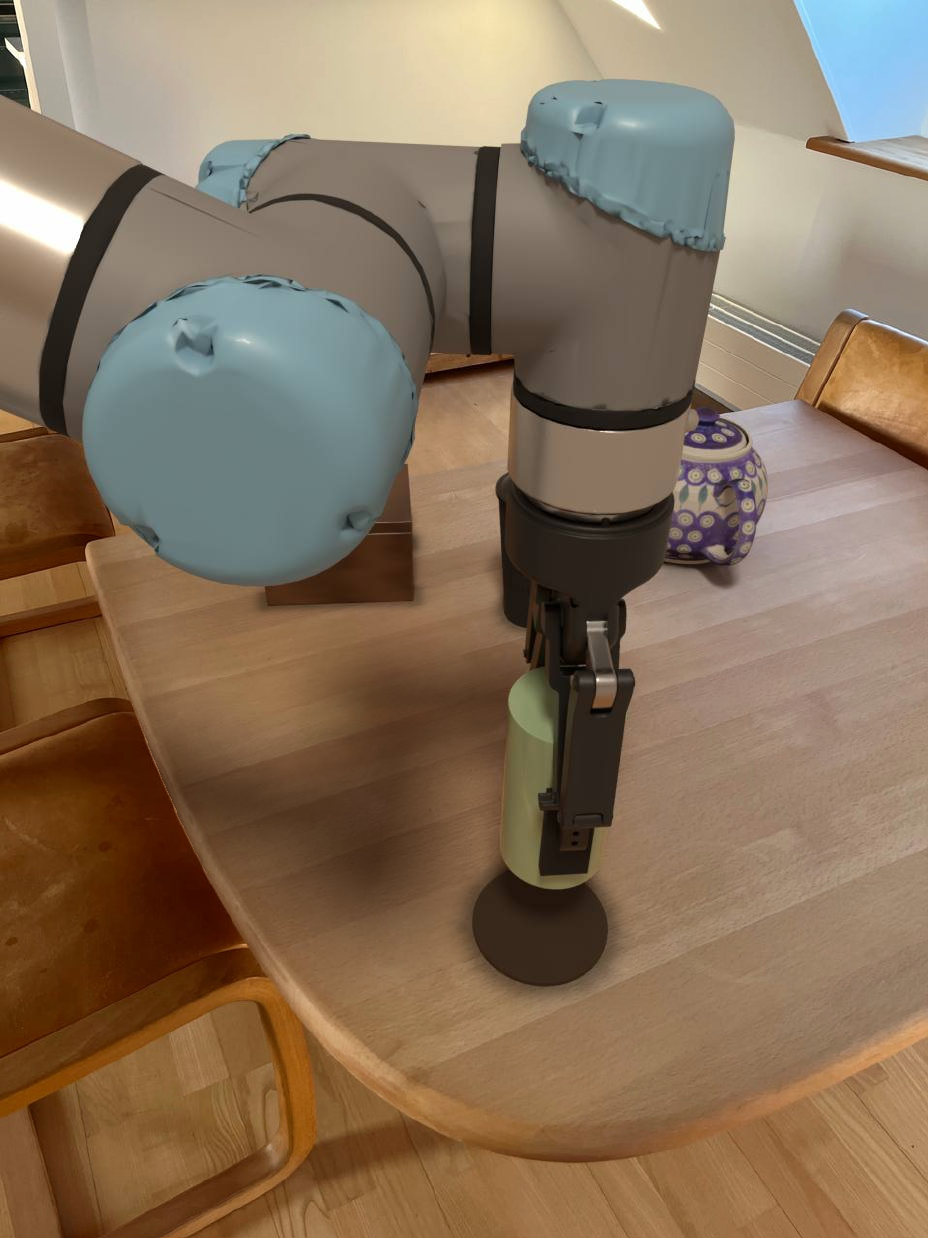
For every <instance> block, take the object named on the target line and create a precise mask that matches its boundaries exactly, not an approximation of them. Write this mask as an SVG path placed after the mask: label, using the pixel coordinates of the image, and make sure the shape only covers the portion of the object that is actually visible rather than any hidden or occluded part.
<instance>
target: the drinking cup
mask: <svg viewBox="0 0 928 1238" xmlns="http://www.w3.org/2000/svg"><path fill="white" fill-rule="evenodd" d="M510 479H511V478H510V475H509V473H508V471H507V472H506V473H503V474H502V475H501V476H500V477H499V478H498V479H497V481H496V482H495V486H494V487H495V489H494V493H495V496H496V498H497V500H498V514H499V516H498V517H499V533H500V534H499V536H500V551H501V552H500V554H501V555H500V556H501V573H502V575H501V576H502V591H503V611H504V615H505V617H506V618H507V620H508V621H509V622H511V623H512V624H514V625H516V626H519V627H522V628H527V621H528V610H529V600H530V589H531V579H529V578H527V577H526V576H525V575H523V574H522V573H521V572H520V571H519V570H518V569H517V568H516V567H515V566H514V565H513V563H512V562H511V560H510V559H509V557H508V554H507V552H506V548H505V524H506V505H507V488H508V483H509V481H510Z"/></svg>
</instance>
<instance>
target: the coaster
mask: <svg viewBox="0 0 928 1238" xmlns="http://www.w3.org/2000/svg"><path fill="white" fill-rule="evenodd" d="M471 921H472V933H473V937H474V941H475V943H476V945H477V947H478V949H479V951H480V953H481V954H482V956H483V957H484V958H485V959H486V961H487V962H488V963H489V965H491V966H492V967H493V968H494V969H496V970H497V971H498V972H499V973H500V974H502V975H504V976H506V977H507V978H509V979H512V980H514V981H516V982H519V983H521V984H526V985H529V986H535V987H536V986H537V987H553V986H560V985H565V984H568V983H571V982H573V981H575V980H578V979H579V978H581V977H583V976H584V975H586V974H587V973H588V972H589V971H591V970H592V969H593V968H594V967H595V966H596V965H597V963H598V962H599V961H600V959H601V957H602V955H603V953H604V951H605V948H606V945H607V941H608V935H609V923H608V917H607V913H606V911H605V908H604V905H603V904H602V902H601V900H600V898H599V897H598V895H597V894H596V893H595V892H594V890H593V889H592V888H590V886H589V885H588V884H586V882H584V883H582V884H580V885H577V886H575V887H571V888H567V889H545V888H541V887H537V886H534V885H531V884H529V883H527V882H525V881H523V880H522V879H520V878H519V877H517V876H516V875H515V874H514V873H513V872H512V871H511V870H510V869H507V870H506V871H504V872H502V873H500V874H499V875H497V876H495V877H494V878H492V879H491V881H489V882H488V883H487V884H486V885H485V886H484V887H483V888H482V890H481V892H480V893H479V895H478V897H477V898H476V901H475V903H474V906H473V911H472V919H471Z"/></svg>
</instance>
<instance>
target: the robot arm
mask: <svg viewBox="0 0 928 1238" xmlns="http://www.w3.org/2000/svg"><path fill="white" fill-rule="evenodd" d="M735 136H736V130H735V121H734V119H733V117H732V116H731V115H730V113H729V111H728V109H727V108H726V106H724V104H723V102H721V101H720V100H719V98H718V97H716V96H715V95H713V94H711V93H710V92H707V91H705V90H702V89H699V88H697V87H692V86H688V85H682V84H677V83H673V82H672V83H671V82H663V81H657V80H656V81H655V80H646V79H645V80H644V79H628V78H626V79H625V78H604V79H599V80H583V79H580V80H579V79H574V80H566V81H559V82H554V83H552V84H548V85H546V86H545V87H542V88H541V89H539V90H538V91H537V92H536V93H534V95H532V97H531V99H530V101H529V103H528V105H527V113H526V119H525V126H524V128H523V129H522V130H521V132H520V142H515V143H514V142H513V143H512V142H511V143H507V142H506V143H501V144H500V146H493V145H492V146H491V145H490V146H489V145H482V146H470V145H448V144H428V143H425V144H424V143H405V142H401V143H400V142H385V141H359V140H339V139H319V138H315V137H313V138H312V137H311V135H310V134H306V133H302V134H301V133H299V134H295V133H289V134H288V135H287V134H286V135H284V136H283V138H272V139H271V138H269V139H268V138H267V139H264V138H263V139H232V140H227V141H223V142H221V143H219V144H217V145H216V146H214V147H213V148H212V149H211V150H210V151H209V152H208V153H207V154H206V155H205V157H204V158H203V160H202V161H201V163H200V165H199V170H198V174H197V175H198V176H197V177H198V183H197V184H196V185H195V186H194V187H193V186H191V185H189V184H186V183H184V182H182V181H180V180H178V179H175V178H174V177H171V176H169V175H167V174H165V173H163V172H160V171H159V170H156V169H154V168H153V167H150V166H147V165H145V164H144V163H143V162H142V161H140V160H139V159H136V158H134V157H132V156H130V155H129V154H126V153H124V152H122V151H120V150H118V149H115V148H113V147H111V146H109V145H107V144H105V143H103V142H101V141H99V140H96V139H94V138H92V137H91V136H88V135H86V134H84V133H82V132H79V131H78V130H75V129H74V128H71V127H70V126H68V125H66V124H64V123H61V122H59V121H57V120H55V119H53V118H51V117H48V116H46V115H44V114H42V113H40V112H38V111H36V110H34V109H31V108H29V107H27V106H25V105H23V104H22V103H18V102H17V101H15V100H12V99H10V98H8V97H6V96H5V95H2V94H0V411H3V412H6V413H8V414H11V415H13V416H16V417H17V418H20V419H23V420H25V421H28V422H30V423H32V424H35V425H37V426H40V427H43V428H45V429H46V430H47V429H48V430H50V431H52V432H55V433H57V434H59V435H62V436H65V437H67V438H69V439H71V440H73V441H76V442H78V443H80V444H82V445H83V452H84V457H85V461H86V464H87V465H86V466H87V468H88V472H89V474H90V477H91V478H92V480H93V482H94V484H95V487H96V489H97V490H98V492H99V494H100V496H101V499H102V501H103V504H104V505H105V506H106V508H107V509H108V510H109V512H110V513H111V514H112V515H113V516H114V517H115V518H116V519H117V522H118V523H119V524H120V525H121V526H125V527H129V528H130V529H131V530H132V531H133V533H135V534H136V535H137V536H138V537H139V538H140V539H142V540H143V541H144V542H145V543H146V544H148V546H150V547H151V548H153V551H154V553H155V556H156V557H157V558H159V559H161V560H162V561H164V562H165V563H167V564H169V565H170V566H172V567H174V568H176V569H179V570H180V571H183V572H185V573H187V574H189V575H192V576H195V577H198V578H201V579H203V580H206V581H210V582H215V583H219V584H223V585H230V586H239V587H265V586H274V585H281V584H286V583H291V582H296V581H300V580H303V579H305V578H308V577H311V576H314V575H316V574H318V573H320V572H322V571H324V570H326V569H328V568H330V567H331V566H333V565H334V564H336V563H337V562H339V561H340V560H342V559H343V558H344V557H346V556H347V555H348V554H349V553H350V552H351V551H352V550H354V549H355V548H356V547H357V546H358V545H359V544H360V543H361V541H362V540H363V539H364V538H365V536H366V535H367V534H368V533H369V531H370V530H371V528H372V527H373V525H374V524H375V522H376V521H377V520H378V519H379V517H380V516H381V514H382V512H383V509H384V507H385V504H386V501H387V499H388V496H389V493H390V490H391V488H392V485H393V482H394V480H395V477H396V475H397V474H398V473H399V472H400V471H401V469H402V467H403V465H404V464H406V462H407V460H408V458H409V455H410V453H411V450H412V449H413V446H414V442H415V440H416V422H417V416H418V412H419V407H420V397H421V394H422V393H421V392H422V389H423V385H424V384H423V383H424V380H425V375H426V370H427V366H428V362H429V361H430V358H431V354H441V355H442V354H446V355H447V354H448V355H469V356H470V355H473V356H492V355H510V356H513V359H514V369H513V374H512V375H513V377H512V383H511V386H510V398H509V399H510V400H509V423H508V424H509V425H508V442H507V443H508V444H507V463H506V464H507V467H506V471H507V472H508V473H509V475H510V478H511V479H510V481H509V483H508V488H507V505H506V524H505V548H506V552H507V554H508V557H509V559H510V560H511V562H512V563H513V565H514V566H515V567H516V568H517V569H518V570H519V571H520V572H521V573H522V574H523V575H525V576H526V577H527V578H529V579H531V589H530V600H529V610H528V621H527V627H526V633H525V641H524V642H525V643H524V649H523V650H522V656H523V659H524V660H525V663H526V664H527V665H528V664H529V665H530V666H529V670H528V672H529V671H531V670H534V669H536V668H539V667H543V666H545V675H546V678H547V680H548V683H549V685H550V687H551V688H552V689H553V690H555V693H554V737H553V781H552V788H546V793H538V803H539V809H540V811H544V817H543V826H542V836H541V846H540V855H539V865H538V866H539V871H540V876H553V875H570V874H587V873H588V868H589V861H590V855H591V849H592V842H593V836H594V829H595V828H599V827H608V828H610V827H612V823H613V820H614V810H615V803H616V802H615V801H616V794H617V786H618V779H619V772H620V763H621V756H622V750H623V744H622V742H623V743H624V738H623V734H624V735H625V732H624V727H625V728H626V726H625V719H626V713H627V710H628V711H629V706H630V703H631V700H632V697H633V695H634V690H635V687H636V678H635V675H634V672H633V670H632V669H631V668H629V667H628V668H620V656H621V655H620V654H621V653H620V652H621V639H622V638H623V637H624V635H625V634H626V631H627V617H628V616H627V615H628V614H627V613H628V611H627V604H626V600H625V599H624V597H625V596H626V595H628V594H629V593H631V592H632V591H634V590H635V589H637V588H639V587H641V586H643V585H644V584H646V583H648V582H649V581H650V580H651V579H653V578H654V577H655V576H656V575H657V574H658V572H659V570H660V569H661V568H662V567H663V565H664V562H665V561H664V559H665V555H666V549H667V544H668V538H669V533H670V527H671V521H672V516H673V510H674V503H675V500H674V495H673V492H672V491H673V490H674V489H675V486H676V484H677V481H678V476H679V470H680V464H681V459H682V453H683V445H684V439H685V434H686V432H690V431H693V430H695V429H696V428H697V426H698V422H699V417H698V415H697V412H696V411H695V409H693V408H691V407H692V400H693V396H694V391H695V386H696V385H695V384H696V382H697V380H696V379H697V374H698V369H699V363H700V358H701V354H702V348H703V343H704V337H705V332H706V328H707V321H708V316H709V311H710V306H711V303H712V301H711V300H712V297H713V296H712V295H713V290H714V286H715V279H716V275H717V270H718V265H719V261H720V260H719V259H720V254H721V251H723V250H724V247H725V243H726V239H727V236H725V233H724V231H725V222H726V213H727V207H728V206H727V205H728V196H729V189H730V188H729V187H730V179H731V171H732V163H733V153H734V147H735V140H736V137H735ZM563 665H577V666H571V667H560V666H563Z"/></svg>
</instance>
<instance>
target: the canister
mask: <svg viewBox="0 0 928 1238" xmlns="http://www.w3.org/2000/svg"><path fill="white" fill-rule="evenodd" d="M571 666H577V665H563V666H560V667H571ZM554 693H555V690H553V689H552V688H551V687H550V685H549V683H548V680H547V678H546V675H545V666H543V667H539V668H536V669H534V670H531V671H529V670H528V671H527V672H526V673H524V674H523V675H522V676H520V677H519V678H518V679H517V680H516V681H515V682H514V684H513V685H512V687H511V688H510V690H509V693H508V697H507V713H506V728H505V729H506V730H505V744H504V745H505V747H504V761H503V776H502V777H503V778H502V779H503V780H502V792H501V793H502V794H501V796H502V797H501V810H500V813H501V814H500V825H499V843H498V844H499V851H500V856H501V858H502V860H503V862H504V863H505V865H506V867H507V868H508V870H511V871H512V872H513V873H514V874H515V875H516V876H517V877H519V878H520V879H522V880H523V881H525V882H527V883H529V884H531V885H534V886H537V887H541V888H545V889H567V888H571V887H575V886H577V885H580V884H582V883H586V882H587V881H588V880H590V879H591V878H592V877H593V876H594V875H595V874H596V873H597V872H598V870H599V869H600V867H601V865H602V863H603V860H604V856H605V855H604V854H605V849H606V843H607V837H608V832H609V827H599V828H595V829H594V836H593V842H592V849H591V855H590V861H589V868H588V873H587V874H570V875H553V876H540V871H539V866H538V865H539V855H540V846H541V836H542V826H543V817H544V811H540V809H539V803H538V793H546V788H552V781H553V737H554ZM628 713H629V709H628V710H627V713H626V719H625V727H624V734H623V739H624V738H625V732H626V725H627V720H628ZM623 743H624V741H623V742H622V745H623Z"/></svg>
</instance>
